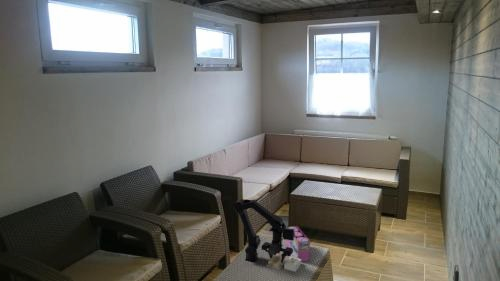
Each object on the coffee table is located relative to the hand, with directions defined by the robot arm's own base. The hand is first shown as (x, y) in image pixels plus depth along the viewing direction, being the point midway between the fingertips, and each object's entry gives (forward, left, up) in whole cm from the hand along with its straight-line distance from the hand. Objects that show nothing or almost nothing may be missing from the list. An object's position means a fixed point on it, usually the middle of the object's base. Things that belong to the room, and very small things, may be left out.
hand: (276, 261), depth 228 cm
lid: (0, 0, -1) cm, 1 cm away
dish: (+10, +1, -1) cm, 10 cm away
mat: (0, 0, -1) cm, 1 cm away
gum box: (+6, +19, -2) cm, 20 cm away
